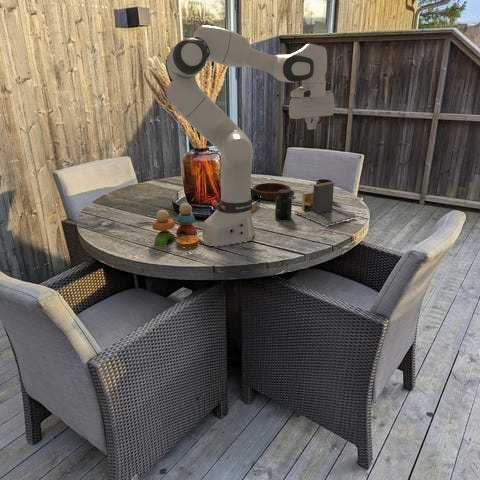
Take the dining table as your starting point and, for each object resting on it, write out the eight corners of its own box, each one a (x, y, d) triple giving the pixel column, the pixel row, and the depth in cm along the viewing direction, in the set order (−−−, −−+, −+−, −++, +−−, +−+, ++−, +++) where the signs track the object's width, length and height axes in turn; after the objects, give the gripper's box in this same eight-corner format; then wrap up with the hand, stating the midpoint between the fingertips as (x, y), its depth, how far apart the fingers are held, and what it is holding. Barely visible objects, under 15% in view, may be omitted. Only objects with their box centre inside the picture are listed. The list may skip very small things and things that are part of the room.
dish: (247, 192, 223) (247, 183, 221) (290, 191, 224) (291, 181, 222) (250, 203, 207) (250, 192, 205) (297, 201, 208) (297, 191, 206)
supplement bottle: (272, 219, 185) (272, 192, 180) (278, 214, 190) (279, 187, 186) (287, 222, 182) (288, 194, 177) (293, 217, 187) (294, 189, 183)
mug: (335, 205, 201) (336, 185, 197) (318, 206, 201) (320, 186, 197) (329, 198, 212) (330, 178, 209) (313, 198, 212) (314, 179, 208)
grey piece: (327, 226, 176) (328, 206, 173) (294, 213, 192) (295, 194, 188) (355, 219, 184) (357, 199, 181) (322, 206, 200) (323, 188, 196)
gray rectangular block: (316, 214, 185) (317, 186, 180) (306, 210, 190) (307, 182, 186) (331, 210, 190) (333, 183, 185) (321, 206, 195) (323, 179, 190)
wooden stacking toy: (189, 252, 155) (187, 218, 150) (149, 244, 162) (146, 211, 157) (214, 235, 170) (213, 204, 165) (177, 228, 177) (175, 198, 172)
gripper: (327, 89, 172) (325, 125, 178) (286, 92, 162) (285, 130, 167) (339, 90, 167) (336, 127, 173) (298, 93, 157) (296, 132, 162)
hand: (311, 129), depth 170 cm, fingers closed
